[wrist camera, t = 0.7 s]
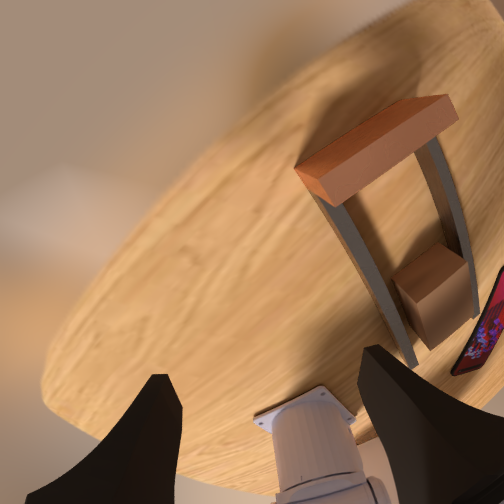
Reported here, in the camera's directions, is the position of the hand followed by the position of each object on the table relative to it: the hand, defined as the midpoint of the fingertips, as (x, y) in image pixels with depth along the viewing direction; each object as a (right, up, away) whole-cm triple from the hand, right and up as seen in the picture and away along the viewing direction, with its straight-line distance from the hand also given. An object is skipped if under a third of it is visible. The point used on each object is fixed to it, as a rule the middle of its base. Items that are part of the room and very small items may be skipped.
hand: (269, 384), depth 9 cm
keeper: (+14, +2, +11) cm, 18 cm away
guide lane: (+11, +5, +9) cm, 15 cm away
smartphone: (+28, -4, +15) cm, 32 cm away
